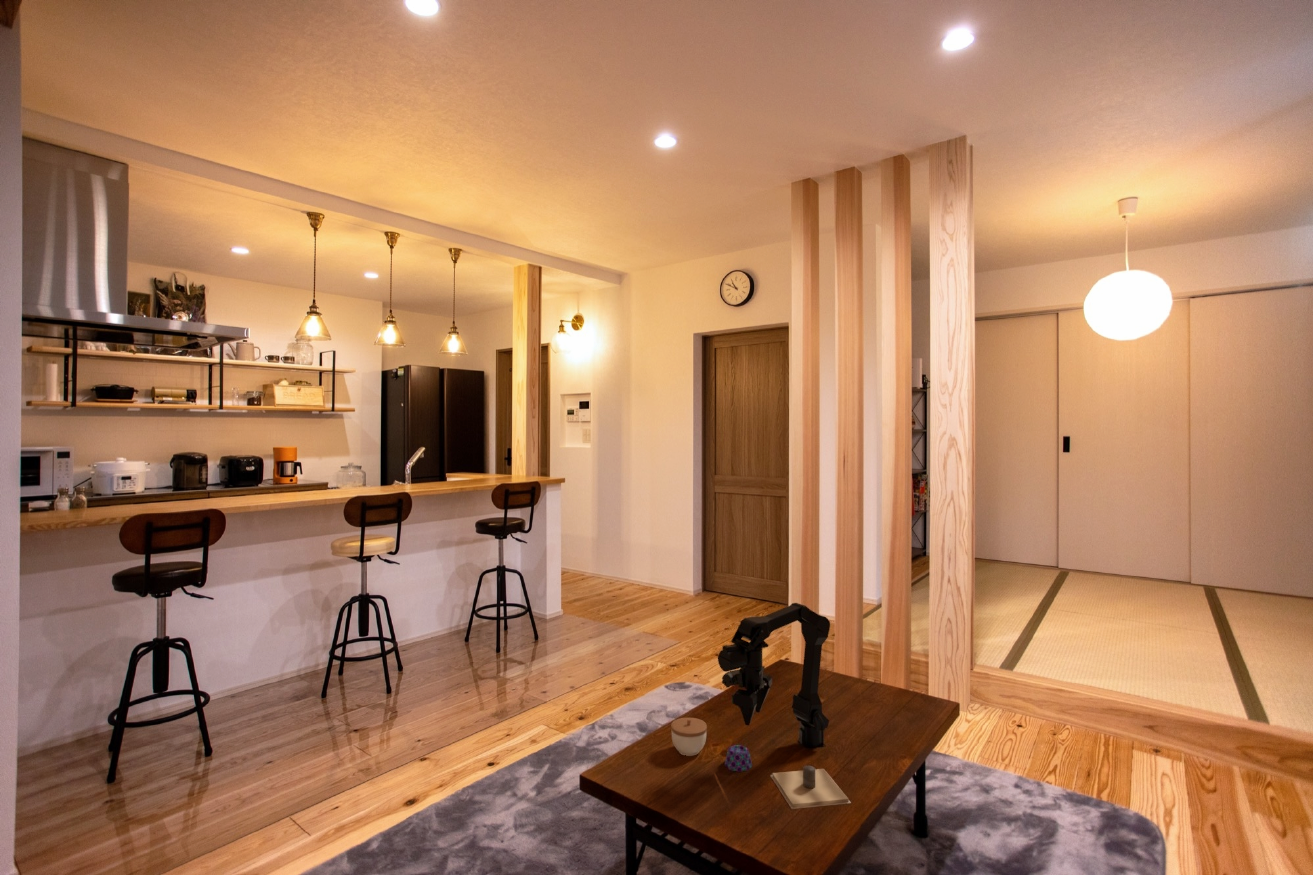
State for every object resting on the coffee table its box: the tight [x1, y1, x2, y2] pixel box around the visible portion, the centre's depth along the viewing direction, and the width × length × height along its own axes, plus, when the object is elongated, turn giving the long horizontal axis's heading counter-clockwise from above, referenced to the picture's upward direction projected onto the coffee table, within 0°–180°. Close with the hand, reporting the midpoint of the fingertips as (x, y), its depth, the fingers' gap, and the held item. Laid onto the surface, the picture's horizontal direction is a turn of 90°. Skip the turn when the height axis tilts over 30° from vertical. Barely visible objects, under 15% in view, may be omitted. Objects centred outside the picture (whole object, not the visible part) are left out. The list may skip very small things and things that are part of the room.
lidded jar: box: [670, 717, 708, 757], centre depth 191 cm, size 11×11×9 cm
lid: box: [771, 765, 850, 807], centre depth 169 cm, size 15×15×5 cm
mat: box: [770, 774, 852, 810], centre depth 169 cm, size 16×16×1 cm
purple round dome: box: [724, 744, 753, 773], centre depth 182 cm, size 12×12×5 cm
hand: (752, 718), depth 182 cm, fingers open, 9 cm apart
